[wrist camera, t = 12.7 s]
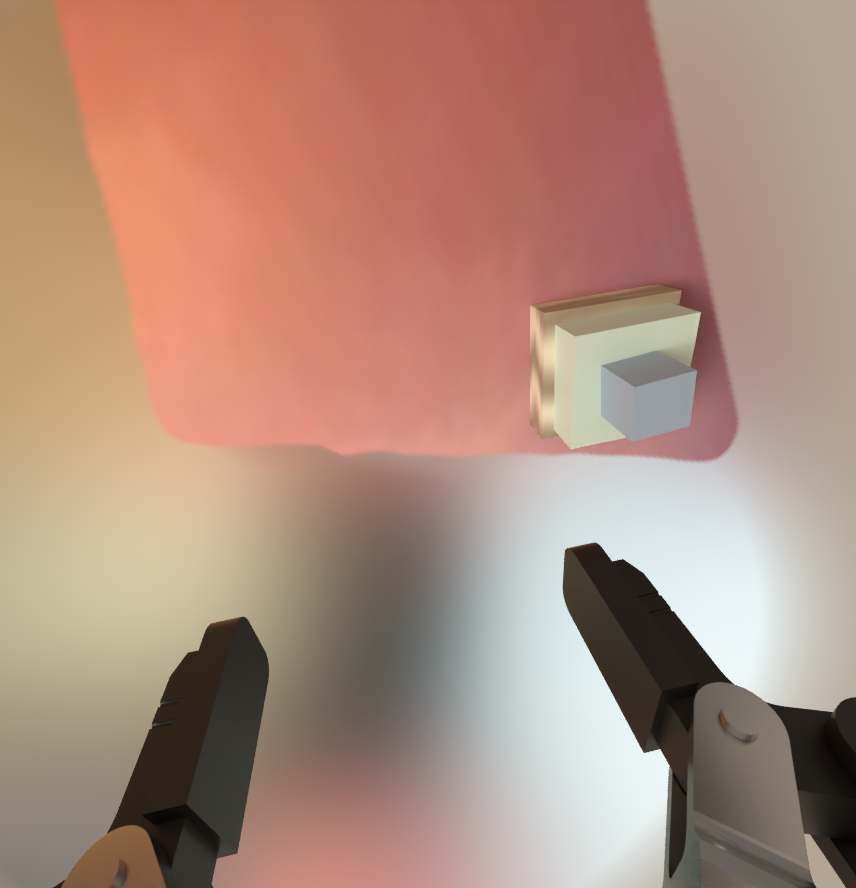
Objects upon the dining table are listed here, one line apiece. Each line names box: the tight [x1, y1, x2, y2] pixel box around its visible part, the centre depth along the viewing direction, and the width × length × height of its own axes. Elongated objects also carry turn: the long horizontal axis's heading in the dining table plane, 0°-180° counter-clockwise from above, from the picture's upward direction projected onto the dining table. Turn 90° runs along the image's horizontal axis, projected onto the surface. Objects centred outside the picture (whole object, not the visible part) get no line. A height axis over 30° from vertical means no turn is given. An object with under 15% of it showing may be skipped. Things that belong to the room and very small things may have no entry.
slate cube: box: [601, 351, 697, 442], centre depth 35 cm, size 5×5×5 cm
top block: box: [554, 303, 701, 449], centre depth 39 cm, size 11×11×4 cm
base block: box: [530, 284, 682, 439], centre depth 42 cm, size 13×13×4 cm
